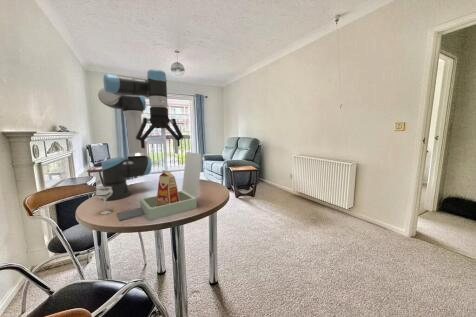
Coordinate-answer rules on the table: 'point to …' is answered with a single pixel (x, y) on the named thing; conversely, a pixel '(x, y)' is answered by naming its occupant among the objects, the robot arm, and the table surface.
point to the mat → (130, 214)
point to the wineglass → (104, 196)
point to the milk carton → (167, 189)
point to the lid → (192, 173)
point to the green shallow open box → (167, 206)
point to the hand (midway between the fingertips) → (161, 154)
